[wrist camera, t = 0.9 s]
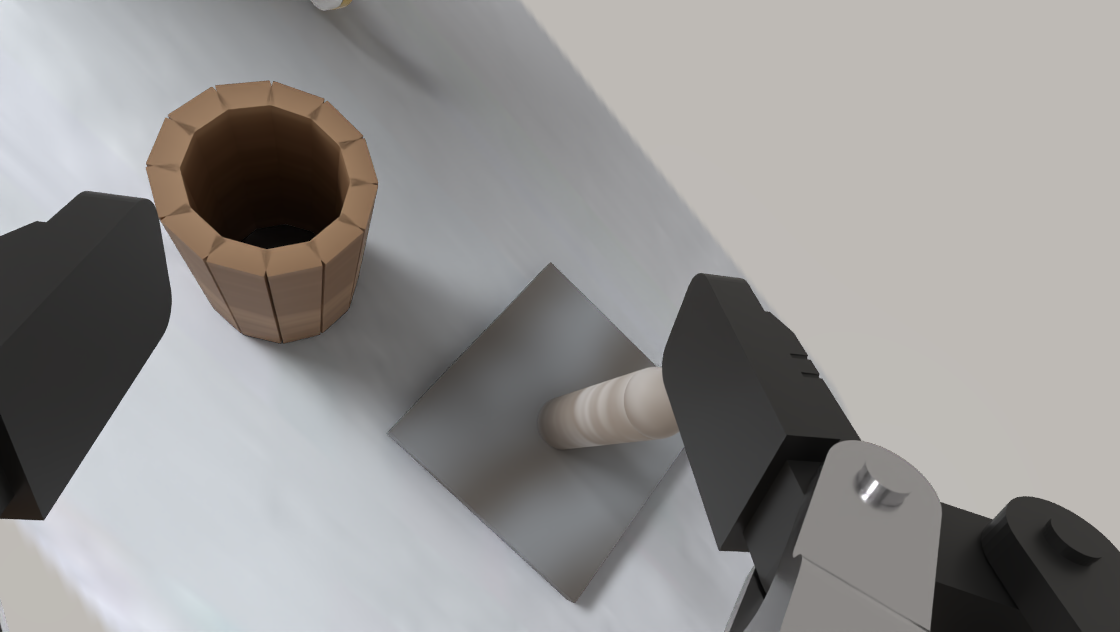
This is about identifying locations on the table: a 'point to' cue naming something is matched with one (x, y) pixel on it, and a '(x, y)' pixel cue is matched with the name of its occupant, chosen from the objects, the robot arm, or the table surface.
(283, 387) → the table surface
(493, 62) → the table surface
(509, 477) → the grey post stand
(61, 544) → the table surface
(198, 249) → the wooden slatted cup
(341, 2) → the ring
